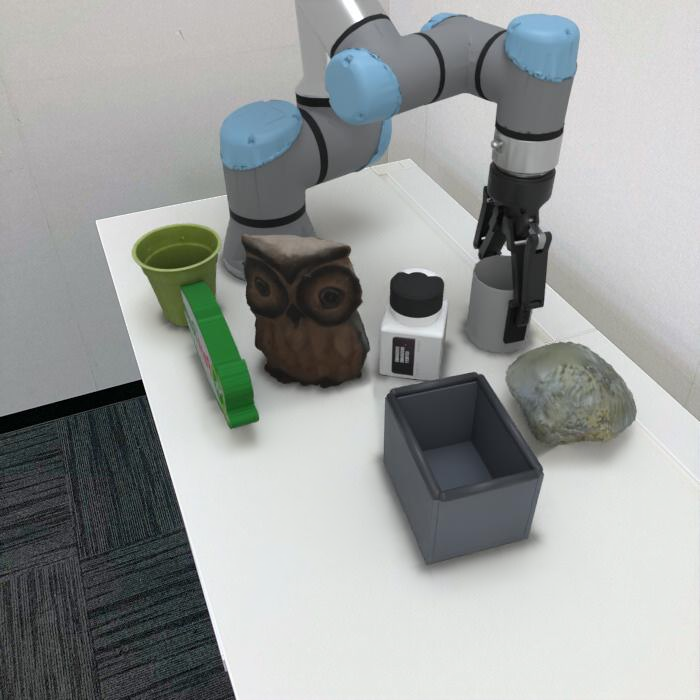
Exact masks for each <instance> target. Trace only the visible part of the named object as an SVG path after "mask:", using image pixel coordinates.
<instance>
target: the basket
mask: <svg viewBox="0 0 700 700" xmlns="http://www.w3.org/2000/svg"><path fill="white" fill-rule="evenodd" d="M382 453H383V454H382V456H383V457H382V458H383V459H382V461H383V464H384V466H385V469H386V471H387V473H388V475H389V478H390V481H391V483H392V486H393V488H394V490H395V493H396V495H397V497H398V499H399V502H400V504H401V507H402V509H403V512H404V514H405V516H406V519H407V521H408V523H409V526H410V529H411V531H412V533H413V535H414V538H415V540H416V543H417V545H418V547H419V550H420V553H421V555H422V557H423V559H424V562H425V564H426V565H431V564H434V563H438V562H443V561H446V560H450V559H454V558H457V557H463V556H465V555H470V554H473V553H478V552H481V551H485V550H488V549H492V548H496V547H500V546H503V545H507V544H511V543H516V542H519V541H523V540H527V539H529V537H530V532H531V529H532V526H533V525H532V524H533V520H534V517H535V513H536V509H537V505H538V502H539V497H540V494H541V490H542V486H543V482H544V477H545V473H544V466H543V465H542V463H541V462H540V461H539V459H538V457H537V455H536V454H535V453H534V451H533V450H532V448H531V446H530V445H529V443H528V442H527V440H526V439H525V437H524V435H523V433H522V432H521V431H520V429H519V428H518V426H517V425H516V423H515V421H514V419H513V418H512V416H511V415H510V414H509V412H508V411H507V409H506V408H505V406H504V404H503V403H502V401H501V400H500V398H499V396H498V395H497V393H496V392H495V390H494V389H493V388H492V385H491V384H490V383H489V381H488V379H487V378H486V376H485V375H484V374H482V373H478V372H477V371H472V372H466V373H461V374H456V375H452V376H446V377H442V378H441V377H440V378H439V379H436V380H431V381H427V380H426V381H423V382H417V383H413V384H408V385H402V386H398V387H394V388H391V389H390V390H389V391H388V393H386V396H385V397H384V419H383V452H382Z"/></svg>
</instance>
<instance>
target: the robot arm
mask: <svg viewBox="0 0 700 700" xmlns="http://www.w3.org/2000/svg"><path fill="white" fill-rule="evenodd" d="M294 7H295V15H296V22H297V23H296V25H297V31H298V33H297V34H298V42H299V49H300V50H299V51H300V57H301V67H302V74H303V76H302V77H301V79H300V80H299V82H298V83H297V84H296V86H295V87H294V94H295V102H296V104H294V103H292V102H290V101H287V100H282V99H269V100H268V101H264V100H257V101H254V102H250V103H247V104H244V105H243V106H240V107H237V109H235V110H233V111H232V112H230V113H229V114H228V115H227V116H226V118H224V120H223V122H222V125H221V126H220V129H219V149H220V150H219V156H220V160H221V164H222V171H223V178H224V184H225V192H226V196H227V197H226V199H227V205H228V209H229V210H228V212H229V219H228V224H227V228H226V234H225V237H224V244H223V246H222V247H223V248H222V256H223V262H224V266H225V268H226V269H227V271H229V273H230V274H232V275H233V276H235V277H236V278H239V279H241V280H243V281H246V279H245V277H244V276H245V274H244V264H245V262H246V252H245V249H244V246H243V244H242V242H241V240H242V238H241V236H242V235H244V234H245V233H247V234H248V235H249V236H250V235H260V236H263V235H266V236H268V235H296V236H299V237H315V238H318V235H317V233H316V231H315V228H314V226H313V224H312V221H311V219H310V217H309V214H308V212H307V203H306V190H308V189H311V188H313V187H316V186H319V185H321V184H324V183H327V182H329V181H333V180H336V179H338V178H341V177H344V176H347V175H349V174H353V173H358V172H361V171H363V170H364V169H366V168H367V167H369V166H371V165H375V163H378V162H379V161H380V160H381V158H383V156H384V155H385V154H386V152H387V150H388V148H389V146H390V144H391V139H392V133H393V122H392V118H394V117H395V116H397V115H400V114H404V113H405V112H409V111H411V110H414V109H418V108H420V107H423V106H427V105H432V104H434V103H437V102H440V101H444V100H446V99H450V98H453V97H456V96H459V95H462V94H468V95H469V94H470V95H471V96H475V97H477V98H480V99H482V100H485V101H488V102H491V103H495V104H496V112H495V123H494V133H493V140H491V141H490V147H491V150H492V151H491V162H490V164H489V168H488V169H489V170H488V177H487V185H484V186H483V188H482V203H481V207H480V211H479V216H478V220H477V224H476V227H475V228H476V229H475V232H474V238H473V242H472V247H473V249H474V250H478V251H477V257H478V260H479V261H480V260H482V259H483V258H487V257H491V256H495V255H503V253H502V250H503V247H504V246H505V245H506V250H507V251H508V252H510V256H511V264H512V280H513V296H514V300H509V302H508V304H509V307H508V313H507V319H506V325H505V331H504V337H503V342H504V343H505V344H509V343H514V342H519V341H524V339H525V334H526V329H527V325H528V323H529V317H530V312H531V309H533V310H536V309H540V308H544V306H545V300H546V299H545V296H546V285H547V272H548V259H549V251H550V247H551V244H552V241H553V234H552V232H551V231H549V230H548V231H543V230H542V229H541V227H540V210H541V208H542V207H543V206H544V205H545V204H546V203H547V202H548V201H550V199H551V198H552V195H553V190H554V184H555V178H556V173H557V170H556V167H557V166H558V165H559V159H560V155H561V149H562V144H563V143H562V142H563V137H564V132H565V126H566V125H565V124H566V123H565V122H566V116H567V111H568V107H569V101H570V97H571V92H572V88H573V85H574V79H575V76H576V74H577V71H578V62H577V61H578V54H579V48H580V39H581V31H580V28H579V26H578V25H577V24H576V22H574V21H573V20H572V19H569V18H567V17H565V16H562V15H557V14H552V15H550V14H546V13H528V14H522V15H519V16H516V17H514V18H513V19H511V20H510V22H509V23H508V25H507V27H506V28H504V27H501V26H498V25H495V24H491V23H489V22H485V21H482V20H479V19H476V18H474V17H473V16H471V15H470V16H469V15H467V14H464V13H463V14H462V13H453V12H440V13H436V14H434V15H433V16H432V17H430V19H429V20H428V22H426V23H425V24H423V25H422V26H421V28H420V29H419V31H418V32H413V33H409V34H405V35H401V34H400V32H399V31H398V29H397V28H396V26H395V23H394V22H393V21H392V19H391V17H389V16H388V14H387V12H386V11H385V9H384V8H383V6H382V4H381V2H380V1H379V0H294ZM522 241H523V242H522ZM516 242H518V243H516Z"/></svg>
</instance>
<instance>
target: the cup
mask: <svg viewBox="0 0 700 700" xmlns="http://www.w3.org/2000/svg"><path fill="white" fill-rule="evenodd" d="M509 300H514V296H513V280H512V264H511V255H505V254H504V255H503V254H501V255H495V256H491V257H487V258H483V259H482V260H479V261H478V262H476V263H475V264H474V267H473V270H472V277H471V286H470V294H469V302H468V311H467V320H466V329H465V334H466V336H467V338H468V340H469V342H470V343H472V344H473V345H474V346H476V348H479V349H481V350H484V351H487V352H490V353H499V354H509V353H512V352H515V351H519V350H520V349H521V348H522V347H524V346H525V345H526V344H527V342H528V341H527V340H528V336H529V331H530V327H531V320H532V315H533V310H534V309H531V312H530V317H529V323H528V325H527V329H526V334H525V339H524V341H519V342H514V343H509V344H505V343H504V342H503V337H504V331H505V325H506V319H507V313H508V307H509V304H508V302H509Z"/></svg>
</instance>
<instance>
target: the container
mask: <svg viewBox="0 0 700 700" xmlns="http://www.w3.org/2000/svg"><path fill="white" fill-rule="evenodd" d="M444 292H445V282H444V280H443V278H442V277H441V276H440V275H439V274H438V273H436V272H435V271H433V270H431V269H428V268H423V267H409V268H404V269H402V270H399V271H398V272H396V273H395V274H394V275H393V276H392V277H391V279H390V282H389V296H388V298H387V302H386V307H385V310H384V314H383V318H382V321H381V324H380V328H379V359H378V360H379V364H378V373H379V375H382V376H388V377H396V378H405V379H411V380H421V381H426V382H427V381H431V380H436V379H440V378H441V377H440V376H441V370H442V363H443V359H444V350H445V345H446V336H447V335H446V334H447V325H448V314H449V305H450V303H449V300H448V299H444V294H445V293H444Z"/></svg>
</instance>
